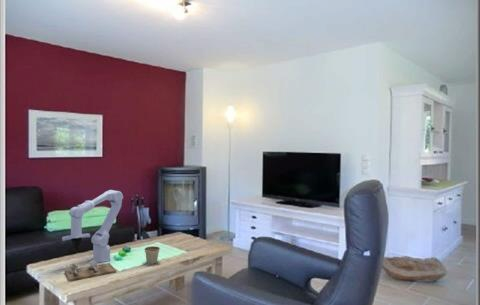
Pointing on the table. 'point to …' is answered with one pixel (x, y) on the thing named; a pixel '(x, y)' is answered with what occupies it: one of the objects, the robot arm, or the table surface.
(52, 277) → the table surface
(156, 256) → the flower pot
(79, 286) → the table surface
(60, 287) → the table surface
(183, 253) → the table surface
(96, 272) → the gauge board
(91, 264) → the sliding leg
